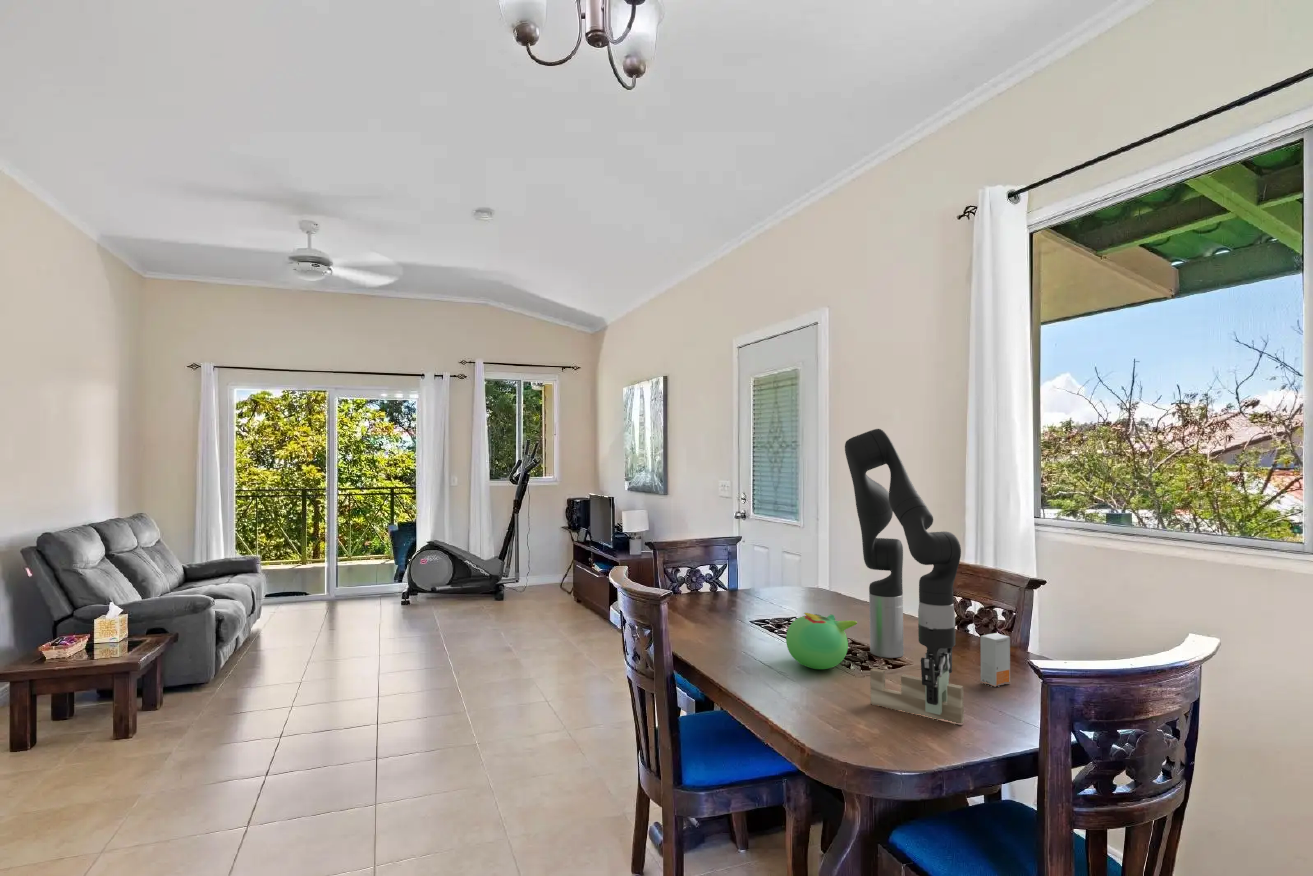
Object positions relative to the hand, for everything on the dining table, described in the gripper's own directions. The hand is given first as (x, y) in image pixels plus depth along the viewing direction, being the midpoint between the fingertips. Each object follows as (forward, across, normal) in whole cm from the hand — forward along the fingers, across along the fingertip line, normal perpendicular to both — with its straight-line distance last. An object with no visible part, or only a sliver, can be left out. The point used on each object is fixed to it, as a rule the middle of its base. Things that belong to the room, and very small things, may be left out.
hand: (937, 699), depth 150 cm
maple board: (+4, 0, -5) cm, 7 cm away
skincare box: (+5, -32, +4) cm, 33 cm away
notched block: (+2, 0, 0) cm, 2 cm away
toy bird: (+5, -17, -37) cm, 41 cm away
